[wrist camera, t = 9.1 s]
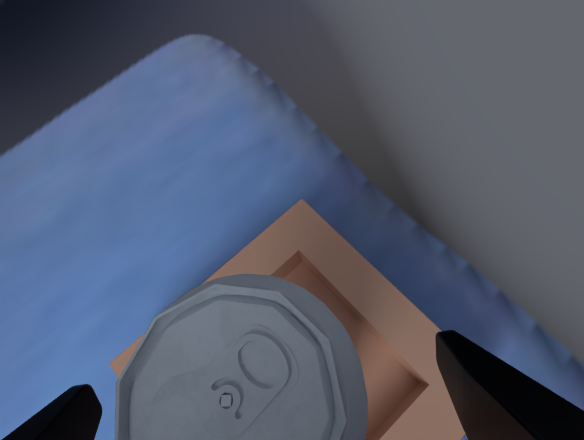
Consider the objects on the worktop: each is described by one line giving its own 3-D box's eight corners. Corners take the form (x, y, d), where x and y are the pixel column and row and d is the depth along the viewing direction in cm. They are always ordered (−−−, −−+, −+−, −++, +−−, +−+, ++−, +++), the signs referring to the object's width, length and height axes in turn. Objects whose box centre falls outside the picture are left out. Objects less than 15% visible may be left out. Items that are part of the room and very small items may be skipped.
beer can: (227, 380, 17) (35, 403, 6) (294, 307, 18) (234, 213, 7) (298, 463, 15) (211, 701, 4) (368, 378, 16) (437, 398, 5)
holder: (479, 386, 16) (503, 389, 14) (287, 604, 14) (277, 651, 12) (305, 217, 21) (301, 198, 18) (138, 364, 18) (109, 363, 16)
